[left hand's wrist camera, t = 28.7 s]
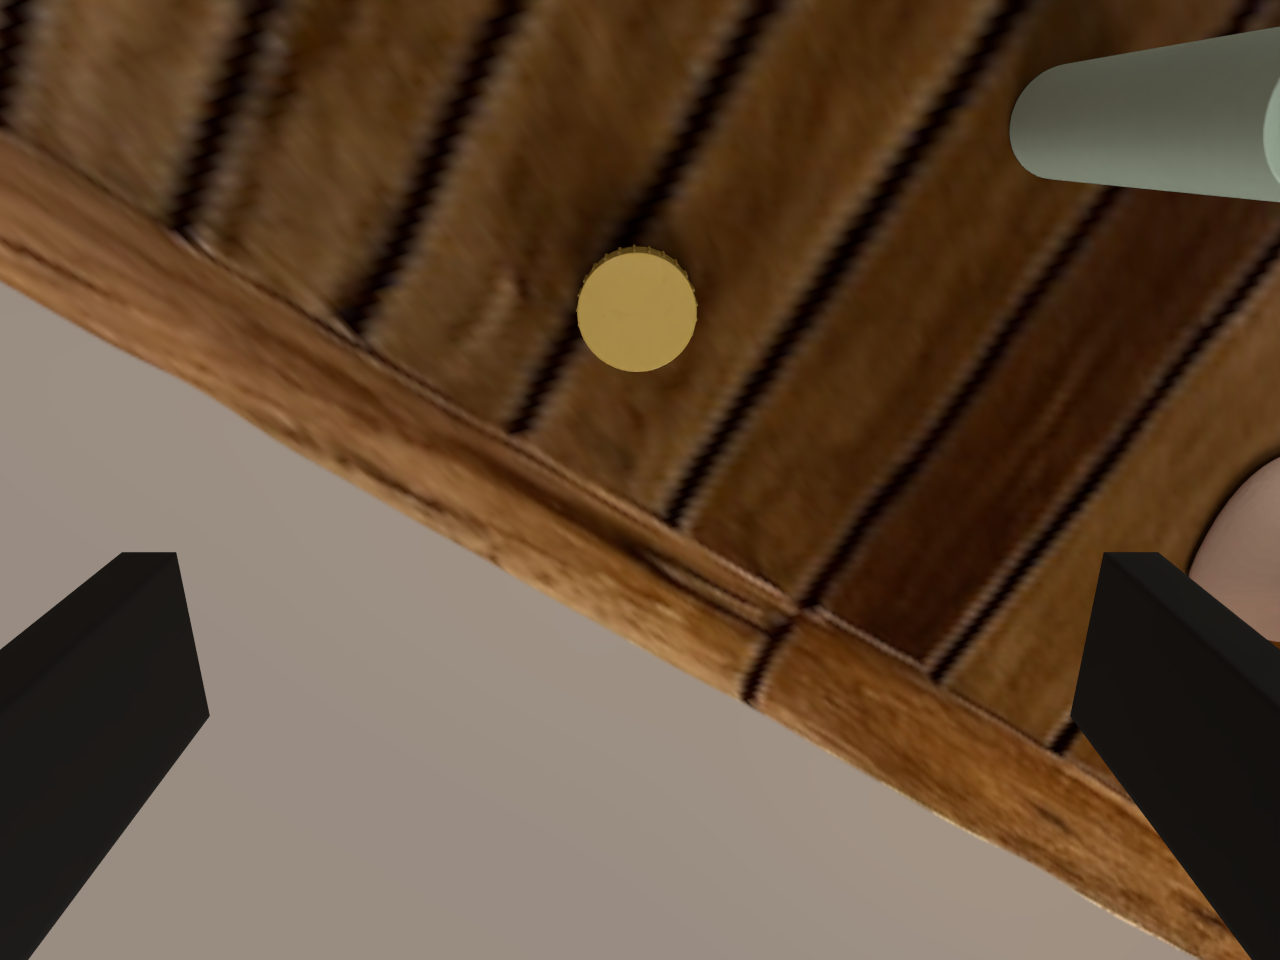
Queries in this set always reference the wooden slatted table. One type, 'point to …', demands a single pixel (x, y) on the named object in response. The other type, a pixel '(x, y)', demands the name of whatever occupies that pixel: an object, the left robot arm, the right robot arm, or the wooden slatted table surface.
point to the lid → (637, 309)
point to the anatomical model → (1246, 553)
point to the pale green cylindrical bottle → (1160, 119)
